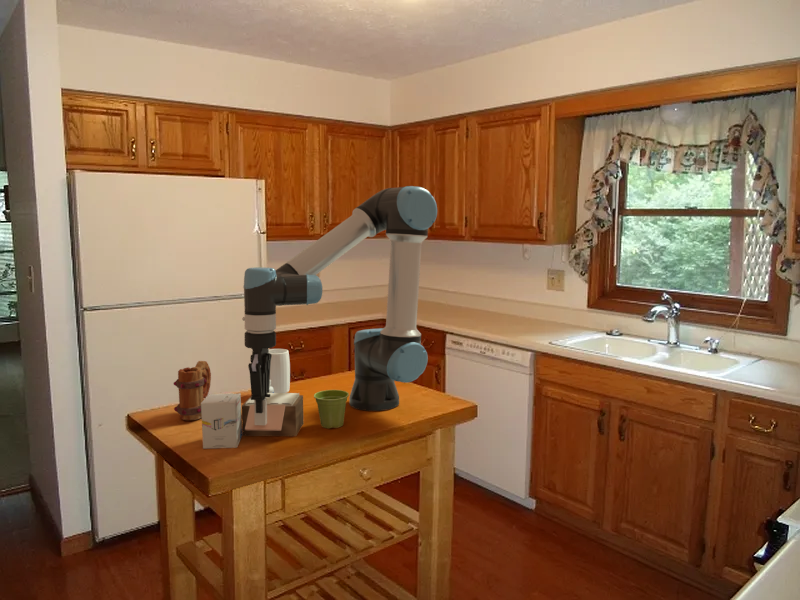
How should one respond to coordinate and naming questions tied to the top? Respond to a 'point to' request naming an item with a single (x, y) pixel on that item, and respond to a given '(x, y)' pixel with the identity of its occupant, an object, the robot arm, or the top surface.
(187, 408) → the mug
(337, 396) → the plant pot
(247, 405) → the block
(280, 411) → the panel
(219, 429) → the ink box
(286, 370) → the cup
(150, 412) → the top surface
